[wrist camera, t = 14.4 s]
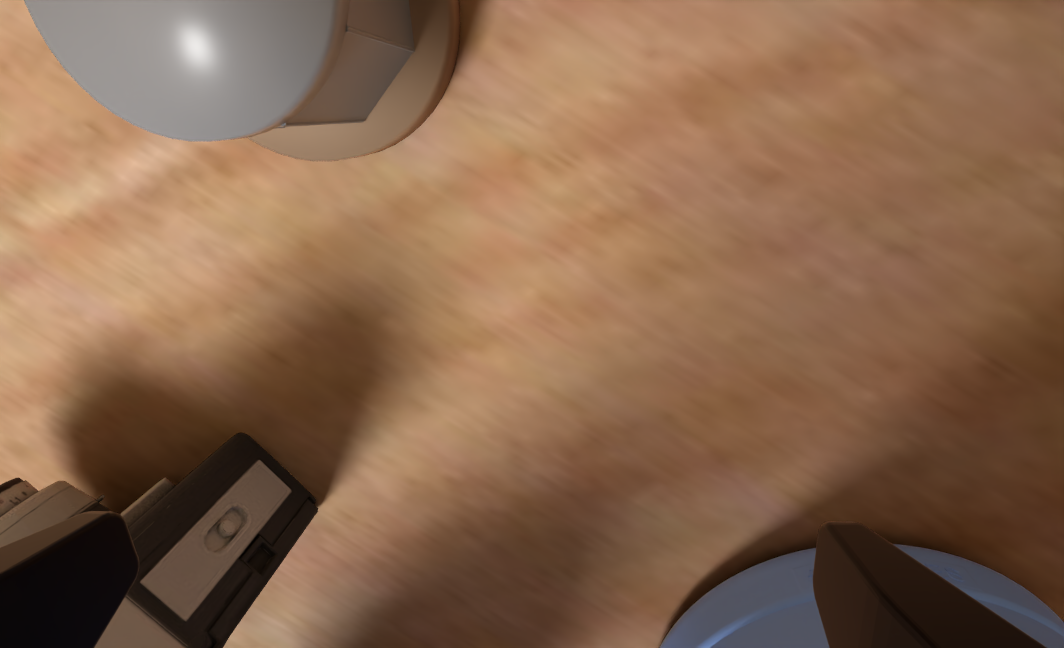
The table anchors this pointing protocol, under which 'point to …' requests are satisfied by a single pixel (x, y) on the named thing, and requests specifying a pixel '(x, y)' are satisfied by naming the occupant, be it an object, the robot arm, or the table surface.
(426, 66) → the stub
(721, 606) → the water jug
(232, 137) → the cap
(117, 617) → the camera
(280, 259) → the table surface
